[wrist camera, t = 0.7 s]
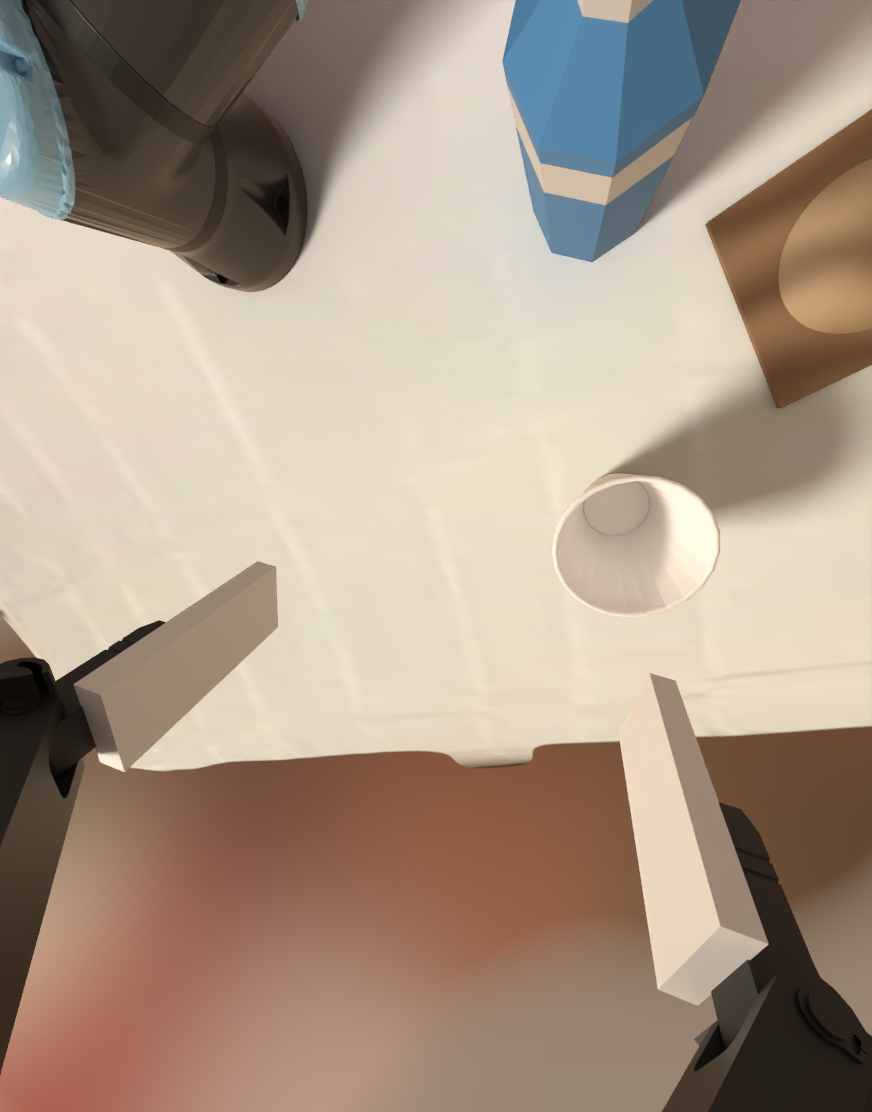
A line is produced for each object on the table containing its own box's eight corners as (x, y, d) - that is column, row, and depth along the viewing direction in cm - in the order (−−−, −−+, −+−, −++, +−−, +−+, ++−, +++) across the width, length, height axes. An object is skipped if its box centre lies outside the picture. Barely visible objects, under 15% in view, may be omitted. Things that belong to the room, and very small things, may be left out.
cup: (595, 426, 41) (605, 447, 30) (708, 481, 40) (761, 522, 29) (535, 527, 46) (525, 575, 35) (633, 576, 45) (654, 642, 34)
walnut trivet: (705, 224, 33) (708, 221, 32) (985, 32, 26) (995, 24, 25) (777, 407, 36) (781, 408, 35) (1042, 280, 29) (1053, 278, 29)
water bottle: (659, 98, 31) (888, -577, 9) (652, 248, 34) (807, 31, 12) (530, 139, 34) (462, -291, 12) (536, 274, 37) (492, 136, 15)
